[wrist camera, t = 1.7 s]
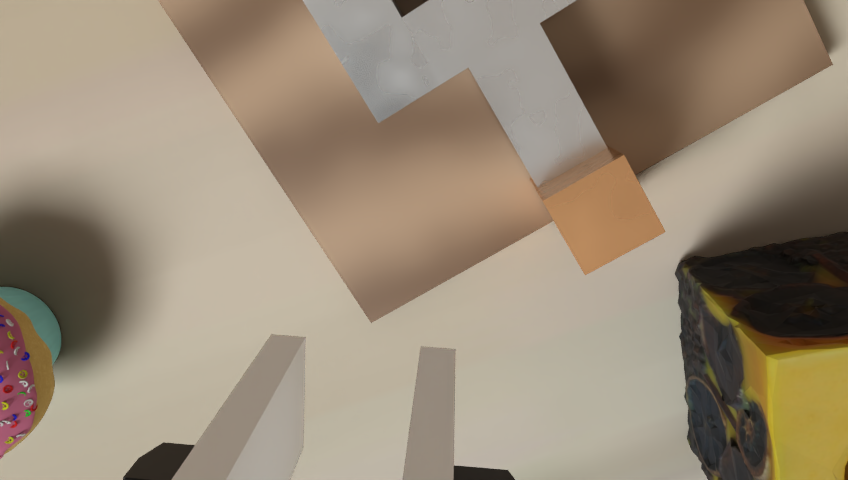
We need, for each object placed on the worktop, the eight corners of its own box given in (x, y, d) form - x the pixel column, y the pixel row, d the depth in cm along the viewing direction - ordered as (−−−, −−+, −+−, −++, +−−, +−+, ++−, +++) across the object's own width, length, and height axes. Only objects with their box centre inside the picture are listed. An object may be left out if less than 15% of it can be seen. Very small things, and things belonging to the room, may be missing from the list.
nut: (234, -129, 26) (186, -169, 22) (481, -309, 24) (486, -396, 20) (487, 284, 30) (491, 325, 25) (717, 156, 28) (768, 176, 23)
